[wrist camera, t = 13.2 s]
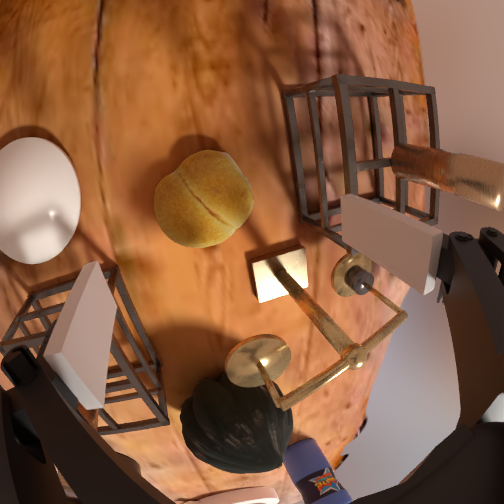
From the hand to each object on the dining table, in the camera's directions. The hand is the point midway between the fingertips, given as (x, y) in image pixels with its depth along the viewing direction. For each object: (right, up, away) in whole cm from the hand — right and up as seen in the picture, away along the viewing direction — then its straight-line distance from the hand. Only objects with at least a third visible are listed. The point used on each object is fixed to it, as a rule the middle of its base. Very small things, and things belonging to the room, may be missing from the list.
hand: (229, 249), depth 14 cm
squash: (-3, -20, +23) cm, 30 cm away
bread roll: (-4, +5, +12) cm, 14 cm away
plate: (-20, +5, +6) cm, 21 cm away
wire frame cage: (+11, +11, +14) cm, 21 cm away
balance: (+4, -2, +17) cm, 18 cm away
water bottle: (+12, -46, +39) cm, 61 cm away
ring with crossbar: (-5, -79, +47) cm, 92 cm away
